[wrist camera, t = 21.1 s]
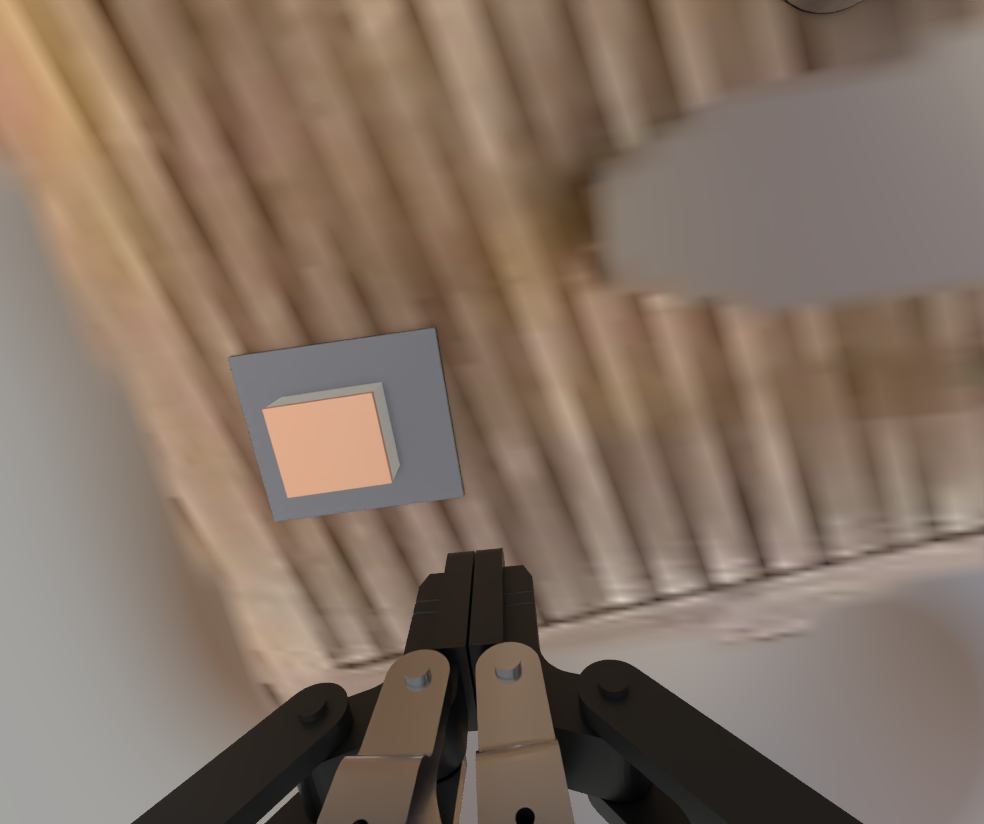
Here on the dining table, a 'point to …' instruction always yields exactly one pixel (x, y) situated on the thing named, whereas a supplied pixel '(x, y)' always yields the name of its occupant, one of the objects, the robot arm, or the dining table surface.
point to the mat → (410, 401)
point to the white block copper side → (333, 440)
